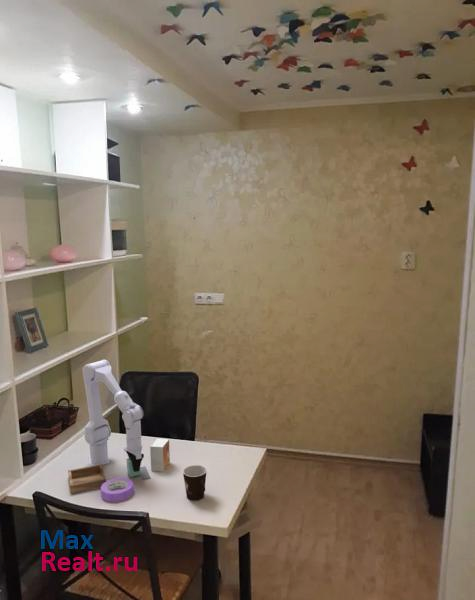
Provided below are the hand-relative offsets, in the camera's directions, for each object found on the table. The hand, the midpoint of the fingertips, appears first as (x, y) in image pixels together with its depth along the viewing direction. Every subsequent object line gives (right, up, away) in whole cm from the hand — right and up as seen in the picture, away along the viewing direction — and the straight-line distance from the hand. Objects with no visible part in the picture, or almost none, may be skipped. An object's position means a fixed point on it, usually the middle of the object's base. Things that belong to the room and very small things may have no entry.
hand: (135, 468), depth 192 cm
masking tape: (-4, -5, -13) cm, 15 cm away
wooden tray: (-18, -4, -5) cm, 19 cm away
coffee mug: (+26, -5, -17) cm, 31 cm away
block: (-1, -2, 0) cm, 2 cm away
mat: (0, -3, 0) cm, 3 cm away
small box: (+9, -2, +7) cm, 12 cm away
